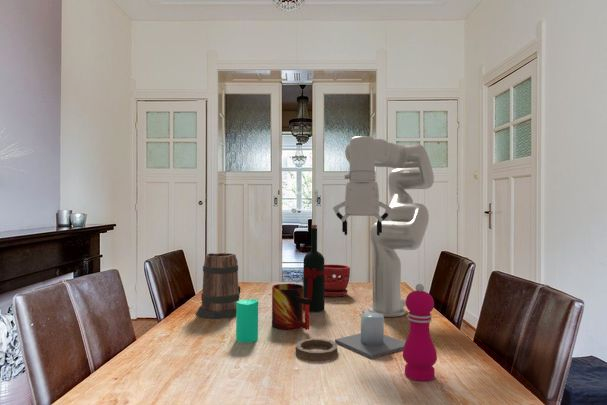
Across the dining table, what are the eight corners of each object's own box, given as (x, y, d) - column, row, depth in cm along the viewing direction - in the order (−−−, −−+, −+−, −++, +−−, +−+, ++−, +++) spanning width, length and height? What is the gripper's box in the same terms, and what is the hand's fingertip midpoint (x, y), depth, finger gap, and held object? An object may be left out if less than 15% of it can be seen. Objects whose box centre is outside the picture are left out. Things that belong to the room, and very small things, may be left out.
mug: (308, 334, 117) (308, 292, 117) (266, 327, 122) (266, 288, 122) (320, 325, 125) (320, 286, 125) (280, 319, 131) (281, 282, 131)
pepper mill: (398, 369, 92) (398, 281, 92) (429, 368, 93) (429, 280, 93) (409, 383, 85) (409, 287, 85) (442, 382, 85) (442, 287, 85)
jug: (386, 345, 105) (386, 318, 105) (364, 346, 104) (364, 318, 104) (375, 333, 115) (375, 308, 115) (354, 333, 114) (354, 308, 114)
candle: (261, 336, 114) (261, 294, 114) (252, 343, 108) (252, 298, 108) (242, 334, 116) (242, 292, 116) (232, 341, 110) (232, 297, 110)
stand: (325, 343, 109) (325, 336, 109) (345, 356, 99) (345, 349, 99) (289, 348, 105) (289, 341, 105) (306, 363, 95) (306, 355, 95)
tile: (372, 333, 118) (372, 330, 118) (410, 347, 106) (410, 344, 106) (335, 342, 110) (335, 339, 110) (371, 358, 98) (371, 355, 98)
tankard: (233, 320, 129) (233, 258, 129) (185, 317, 133) (185, 256, 133) (258, 303, 152) (258, 250, 152) (217, 300, 156) (217, 248, 156)
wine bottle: (297, 312, 139) (298, 225, 139) (306, 305, 149) (306, 224, 149) (319, 314, 137) (320, 226, 137) (327, 307, 146) (327, 224, 147)
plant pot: (351, 298, 161) (351, 268, 161) (318, 298, 161) (318, 267, 162) (348, 291, 174) (348, 263, 174) (317, 291, 175) (317, 263, 175)
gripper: (332, 177, 119) (332, 235, 119) (392, 177, 117) (392, 236, 117) (334, 179, 127) (333, 233, 127) (390, 178, 124) (390, 234, 124)
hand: (361, 234), depth 122 cm, fingers open, 9 cm apart
